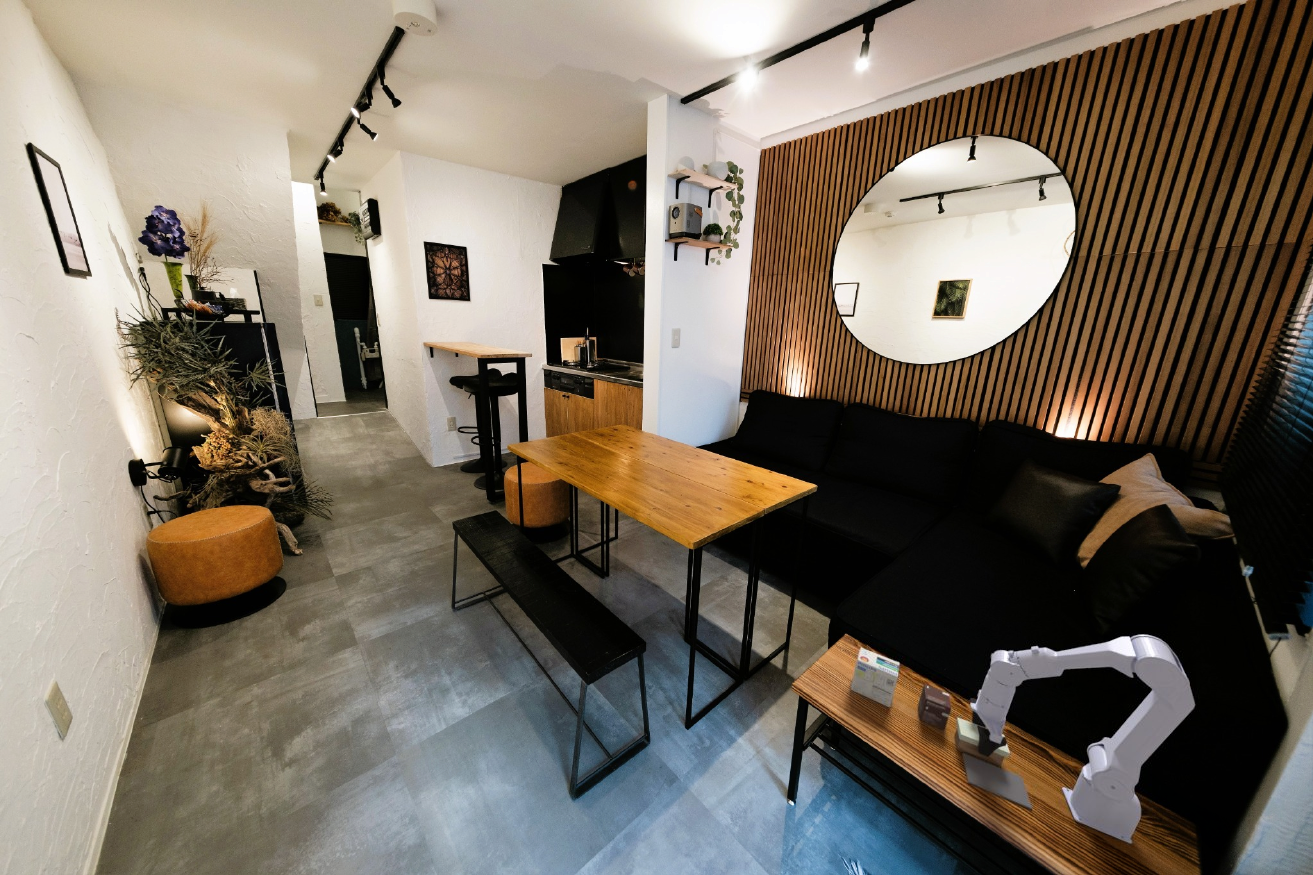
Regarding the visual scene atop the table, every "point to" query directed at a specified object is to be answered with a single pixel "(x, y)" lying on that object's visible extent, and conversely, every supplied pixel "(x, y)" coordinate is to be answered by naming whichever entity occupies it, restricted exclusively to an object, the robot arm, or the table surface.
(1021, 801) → the mat
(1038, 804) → the table surface
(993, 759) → the crate
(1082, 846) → the table surface
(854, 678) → the light bulb box
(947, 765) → the table surface
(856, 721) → the table surface
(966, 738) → the lid
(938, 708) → the box
